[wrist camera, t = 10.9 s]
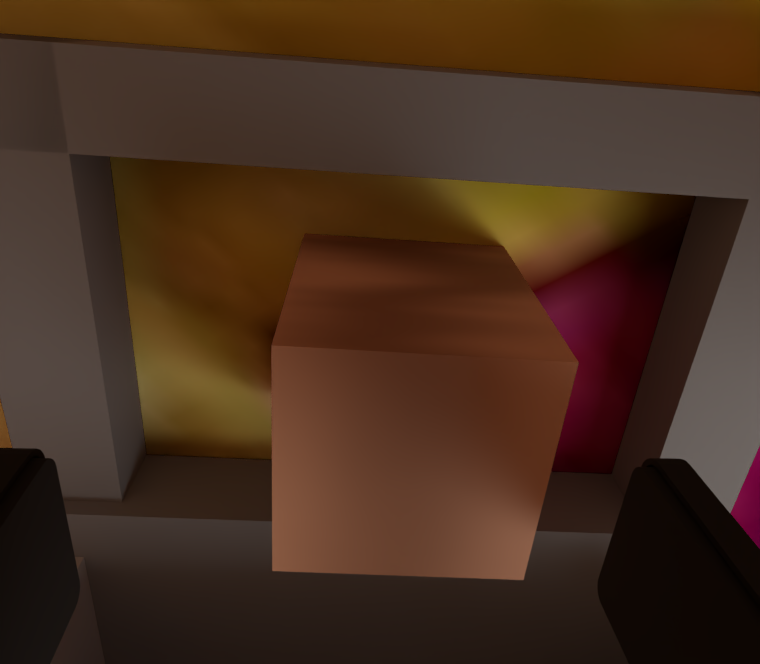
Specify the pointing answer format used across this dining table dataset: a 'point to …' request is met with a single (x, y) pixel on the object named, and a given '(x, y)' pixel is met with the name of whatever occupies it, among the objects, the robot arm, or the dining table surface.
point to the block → (412, 410)
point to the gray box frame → (254, 477)
